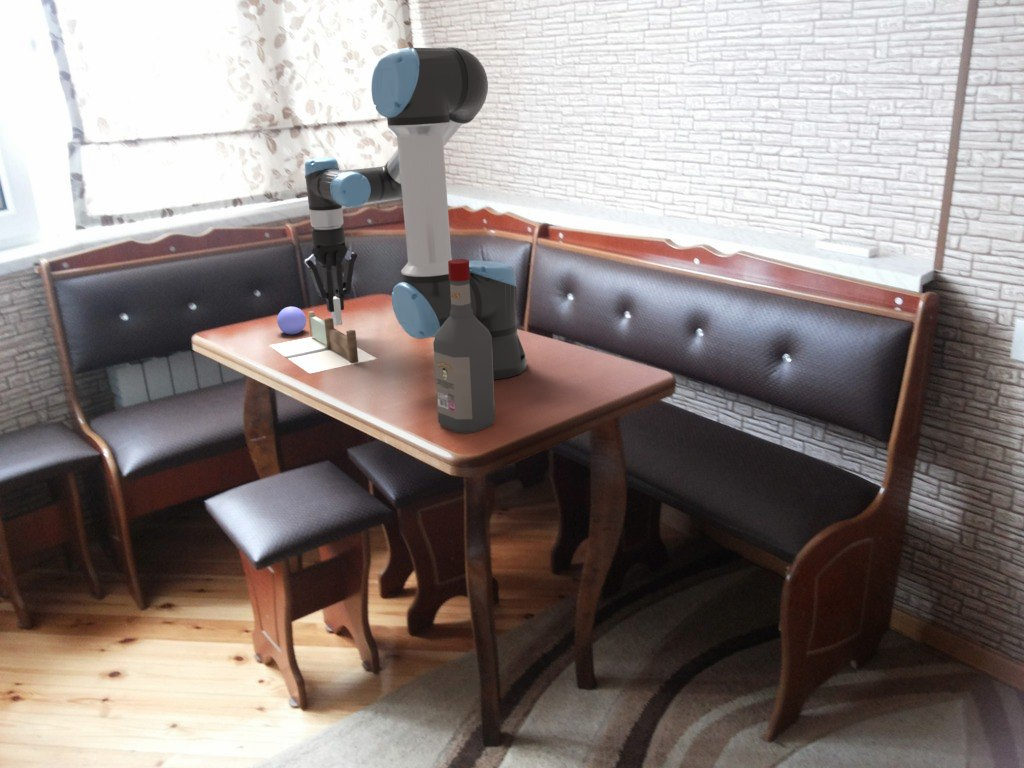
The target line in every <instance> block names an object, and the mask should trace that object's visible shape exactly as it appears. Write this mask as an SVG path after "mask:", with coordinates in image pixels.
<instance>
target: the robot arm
mask: <svg viewBox="0 0 1024 768" xmlns="http://www.w3.org/2000/svg"><path fill="white" fill-rule="evenodd" d="M488 91H489V81H488V76H487V73H486V70H485V67H484V66H483V64H482V63H481V61H480V60H479V59H478V57H477V56H475V55H474V54H473V53H471V52H470V51H468V50H466V49H463V48H459V47H454V46H453V47H405V48H404V47H401V48H397V49H390V50H388V51H387V50H386V52H384V53H383V54H382V55H381V56H380V57H379V59H378V61H377V63H376V65H375V66H374V69H373V73H372V77H371V99H372V102H373V105H374V106H375V110H376V112H377V113H378V114H379V115H380V116H382V117H384V118H386V120H387V128H388V129H389V130H390V131H392V132H393V134H394V135H395V136H396V139H397V140H396V143H397V149H395V151H394V153H393V154H392V155H391V157H389V160H387V162H386V163H385V165H382V166H375V167H374V166H373V167H367V168H365V167H364V168H355V169H347V170H346V169H345V170H344V169H342V170H341V169H340V167H339V164H338V163H339V162H338V160H337V159H336V158H333V157H315V158H310V159H307V160H306V161H305V162H304V172H305V174H304V178H305V184H306V185H305V187H306V193H307V194H306V195H307V202H308V208H309V209H308V210H309V220H310V226H311V227H312V228H311V238H312V239H311V241H312V247H313V248H312V251H311V255H310V256H309V257H307V258H304V259H303V264H305V266H306V267H307V268H308V271H309V274H310V277H311V280H312V282H313V285H314V288H315V290H316V293H317V295H318V296H319V298H322V299H325V300H326V309H327V312H329V313H330V314H331V318H332V319H333V323H334V326H342V325H343V319H342V316H343V315H342V311H343V310H344V309H345V304H344V303H345V301H344V299H345V297H346V295H348V294H351V289H352V283H353V282H352V280H353V273H354V267H355V262H356V260H357V258H358V254H357V253H355V252H353V251H350V250H349V249H348V246H347V245H346V235H345V227H344V226H343V225H344V214H343V207H345V208H359V207H361V206H363V205H365V204H367V203H368V204H369V203H375V202H381V201H382V202H383V201H388V200H389V201H391V200H398V199H401V200H402V208H403V220H404V231H405V233H404V234H405V243H406V254H407V255H406V256H407V263H406V264H405V265H404V266H403V268H402V269H401V271H400V273H401V282H399V283H397V284H396V285H395V286H394V287H393V289H392V290H393V291H392V292H391V306H392V310H393V313H394V315H395V319H396V320H397V322H398V324H399V325H400V327H401V328H402V330H403V331H404V332H405V333H406V334H407V335H409V336H410V337H412V338H414V339H417V340H422V339H429V338H433V339H435V336H436V332H437V331H438V330H439V329H440V327H441V326H442V325H443V324H444V322H445V321H446V320H447V319H448V318H449V316H450V311H451V291H450V280H449V269H448V261H450V260H453V258H452V247H451V233H450V219H449V207H448V206H449V205H448V193H447V192H448V191H447V180H446V179H447V178H446V176H447V175H446V166H445V165H446V164H445V151H444V149H445V148H444V147H445V146H446V145H447V143H448V142H449V141H450V140H451V138H452V137H453V136H454V135H455V134H456V132H458V130H459V128H460V127H462V126H463V125H465V124H466V125H467V124H469V123H470V122H472V121H473V120H474V118H475V117H476V116H477V115H478V114H479V112H480V111H481V109H482V108H483V107H484V104H485V102H486V100H487V96H488ZM344 259H345V262H344V267H343V265H342V263H343V261H344ZM316 261H317V262H318V263H319V265H320V267H321V268H320V269H321V270H322V279H323V280H322V279H321V276H320V273H319V270H318V268H317V266H316V265H317V262H316ZM342 267H343V268H344V269H343V268H342ZM342 269H343V273H342ZM469 269H470V279H469V285H470V302H471V308H472V310H473V315H474V316H475V317H476V318H477V319H478V320H479V321H480V322H481V323H482V324H483V325H484V326H485V327H486V328H487V329H488V330H489V332H490V334H491V336H492V356H493V380H501V379H506V378H507V379H508V378H513V377H515V376H517V375H520V374H522V373H523V372H525V371H526V370H527V356H526V353H525V351H524V347H523V345H522V342H521V339H520V337H519V334H518V317H517V313H518V311H517V310H518V309H517V286H518V285H517V281H516V279H517V278H516V272H515V270H514V267H513V266H511V265H509V264H507V263H503V262H499V261H489V260H469ZM322 281H323V282H322ZM334 295H335V296H334ZM524 370H525V371H524Z"/></svg>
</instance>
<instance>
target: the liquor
mask: <svg viewBox="0 0 1024 768" xmlns="http://www.w3.org/2000/svg"><path fill="white" fill-rule="evenodd" d="M469 261H470V260H469V259H465V258H463V259H462V258H461V259H460V258H459V259H458V258H457V259H452V260H450V261H448V269H449V280H450V291H451V311H450V316H449V318H448V319H447V320H446V321H445V322H444V324H443V325H442V326H441V327H440V329H439V330H438V331H437V332H436V336H435V337H434V338H433V358H434V373H435V374H434V375H435V388H436V389H435V391H436V405H437V421H438V424H439V425H440V426H441V428H445V429H447V430H450V431H452V432H454V433H457V434H473V433H476V432H478V431H480V430H483V429H486V428H489V427H492V426H493V424H494V422H495V418H496V413H495V412H496V410H495V407H496V405H495V388H494V387H495V386H494V384H495V383H494V380H495V379H493V356H492V336H491V334H490V332H489V330H488V329H487V328H486V327H485V326H484V325H483V324H482V323H481V322H480V321H479V320H478V319H477V318H476V317H475V316H474V315H473V310H472V308H471V302H470V285H469V279H470V269H469Z"/></svg>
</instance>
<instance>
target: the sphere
mask: <svg viewBox="0 0 1024 768" xmlns="http://www.w3.org/2000/svg"><path fill="white" fill-rule="evenodd" d="M276 318H277V319H276V322H277V326H278V328H279V329H280V331H281V332H283V333H284V334H286V335H291V336H292V335H297V334H300V333H302V331H304V329H305V327H306V325H307V317H306V315H305V313H304V311H303V310H301V308H300V307H299V308H298V307H296V306H287V307H284V308H283V309H281V310H280V312H279V313H278V315H277V317H276Z"/></svg>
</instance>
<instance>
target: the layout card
mask: <svg viewBox="0 0 1024 768" xmlns="http://www.w3.org/2000/svg"><path fill="white" fill-rule="evenodd" d="M268 346H269V347H270V348H272V349H273V350H274V351H276V352H277V353H279V354H280V355H282V356H283V357H284V358H286V359H288V360H289V361H290V362H291V363H293V364H295V365H296V366H297V367H298V368H300V369H302V370H303V371H305V372H306V373H308V374H314V373H320V372H323V371H324V372H325V371H328V370H333V369H337V368H341V367H342V368H343V367H346V366H350V365H356V364H360V363H364V362H370V361H374V360H378V357H377V358H376V357H375V356H373V355H371V354H369V353H368V352H366V351H364V350H363V349H361V348H359V347H357V352H358V362H356V363H350V362H349V360H348V359H346V358H344V357H343V356H341V355H339V354H338V353H336V352H334V351H333V350H331V349H327V345H325V344H324V343H322V342H320V341H319V340H317V339H315V338H314V337H311V336H310V337H309V336H308V337H305V338H300V339H294V340H290V341H284V342H280V343H274V344H269V345H268Z"/></svg>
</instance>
